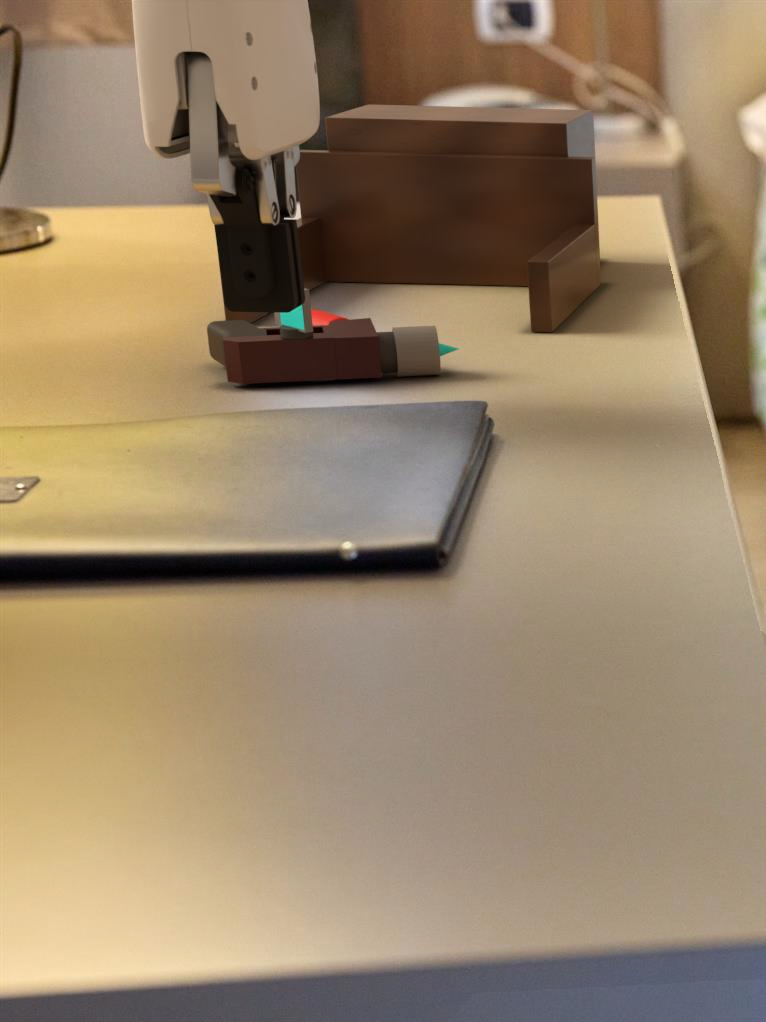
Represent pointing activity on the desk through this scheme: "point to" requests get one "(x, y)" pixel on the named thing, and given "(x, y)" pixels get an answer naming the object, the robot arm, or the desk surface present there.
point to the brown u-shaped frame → (454, 202)
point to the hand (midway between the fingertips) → (265, 307)
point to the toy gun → (321, 348)
